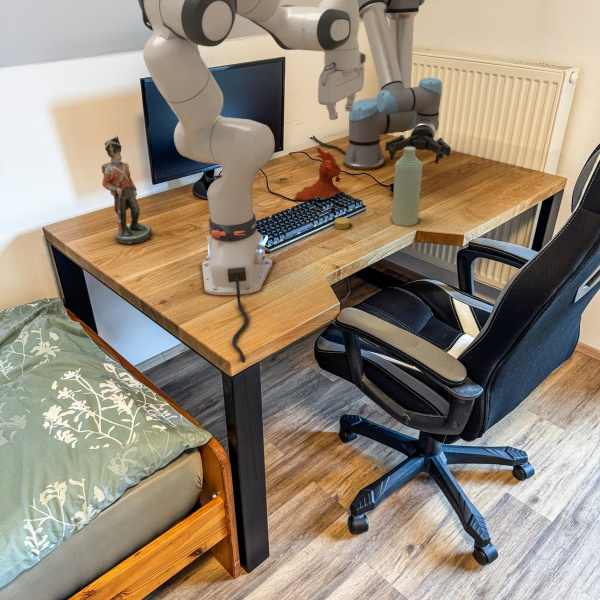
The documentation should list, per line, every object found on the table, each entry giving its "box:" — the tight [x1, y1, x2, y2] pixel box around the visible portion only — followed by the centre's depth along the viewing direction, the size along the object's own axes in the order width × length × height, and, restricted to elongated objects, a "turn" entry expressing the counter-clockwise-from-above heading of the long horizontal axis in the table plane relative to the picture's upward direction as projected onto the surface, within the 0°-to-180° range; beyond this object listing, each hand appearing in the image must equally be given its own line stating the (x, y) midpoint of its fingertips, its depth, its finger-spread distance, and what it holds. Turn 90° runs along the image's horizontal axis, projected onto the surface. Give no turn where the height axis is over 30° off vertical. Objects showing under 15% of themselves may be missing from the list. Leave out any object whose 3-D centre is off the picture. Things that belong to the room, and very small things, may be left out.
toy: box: [294, 147, 342, 202], centre depth 188 cm, size 13×18×15 cm
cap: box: [334, 217, 351, 230], centre depth 169 cm, size 5×5×2 cm
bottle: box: [391, 147, 423, 227], centre depth 166 cm, size 8×8×22 cm
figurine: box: [101, 134, 152, 245], centre depth 160 cm, size 11×11×30 cm
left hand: (341, 115), depth 151 cm, fingers open, 8 cm apart
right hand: (414, 157), depth 170 cm, fingers open, 13 cm apart
